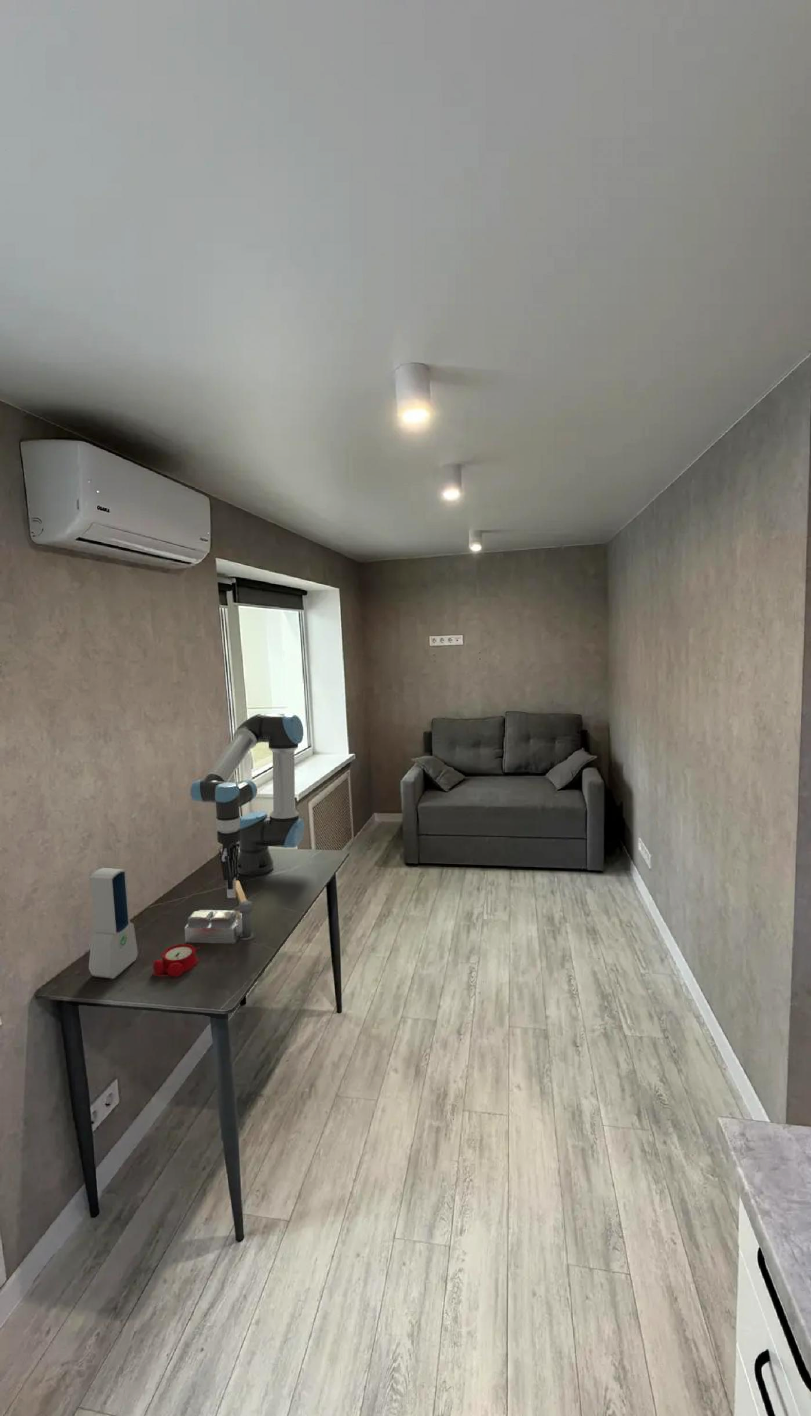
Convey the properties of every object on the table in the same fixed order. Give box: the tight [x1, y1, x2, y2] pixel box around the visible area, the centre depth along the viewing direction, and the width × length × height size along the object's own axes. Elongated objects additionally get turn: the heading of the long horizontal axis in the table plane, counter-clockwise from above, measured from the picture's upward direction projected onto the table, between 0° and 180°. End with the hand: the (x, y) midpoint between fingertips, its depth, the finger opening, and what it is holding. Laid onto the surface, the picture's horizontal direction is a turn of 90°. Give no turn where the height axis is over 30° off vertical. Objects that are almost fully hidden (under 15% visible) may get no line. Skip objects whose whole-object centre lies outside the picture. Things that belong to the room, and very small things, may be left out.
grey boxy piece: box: [184, 909, 256, 945], centre depth 197 cm, size 12×21×7 cm, turn 86°
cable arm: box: [236, 880, 253, 937], centre depth 203 cm, size 22×4×11 cm, turn 24°
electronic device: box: [88, 867, 139, 980], centre depth 176 cm, size 12×8×30 cm, turn 168°
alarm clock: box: [152, 943, 202, 978], centre depth 178 cm, size 10×6×15 cm
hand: (231, 896), depth 205 cm, fingers closed
